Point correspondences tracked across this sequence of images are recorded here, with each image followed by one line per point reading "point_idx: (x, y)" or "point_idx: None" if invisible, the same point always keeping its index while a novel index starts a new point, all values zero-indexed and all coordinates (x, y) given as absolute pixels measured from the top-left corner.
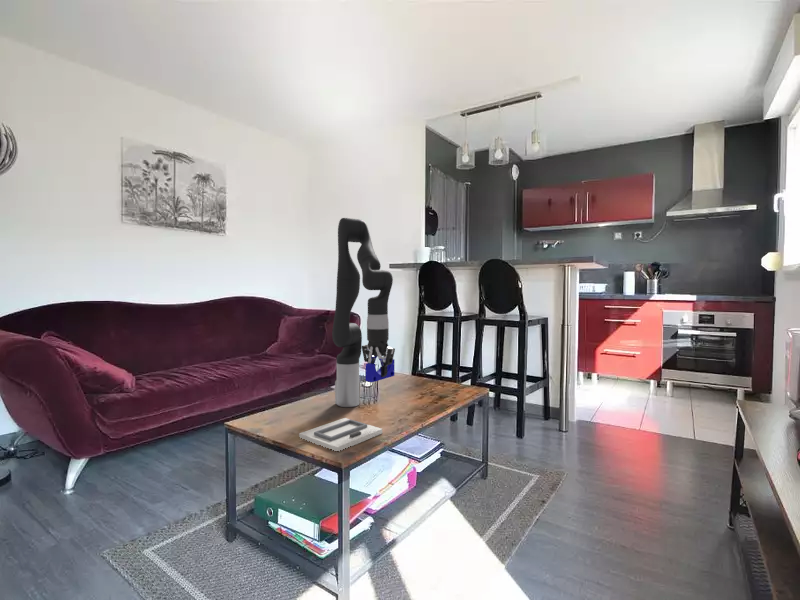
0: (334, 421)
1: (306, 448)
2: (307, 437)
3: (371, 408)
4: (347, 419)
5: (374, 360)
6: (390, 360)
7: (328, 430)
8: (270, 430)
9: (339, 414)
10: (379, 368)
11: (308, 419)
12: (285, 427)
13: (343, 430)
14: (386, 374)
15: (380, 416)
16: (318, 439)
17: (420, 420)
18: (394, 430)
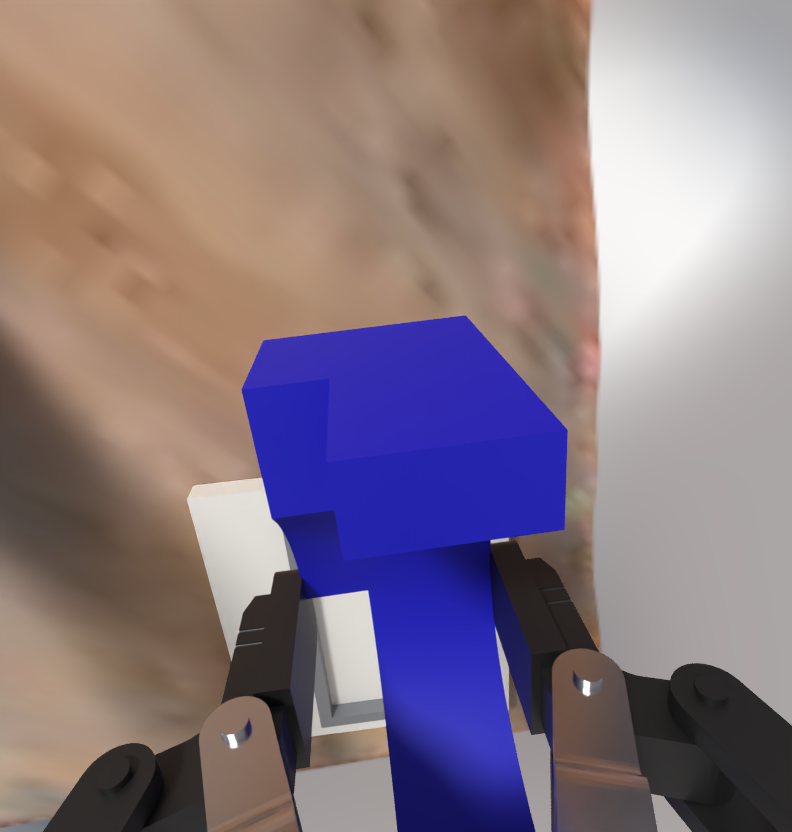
0: (209, 572)
1: (380, 743)
2: (314, 731)
3: (16, 144)
4: (226, 504)
5: (283, 772)
6: (754, 755)
7: (322, 658)
8: (77, 765)
9: (23, 425)
10: (281, 525)
11: (12, 598)
12: (76, 715)
13: (369, 607)
14: (544, 570)
15: (252, 245)
16: (381, 722)
17: (543, 85)
18: (524, 372)
